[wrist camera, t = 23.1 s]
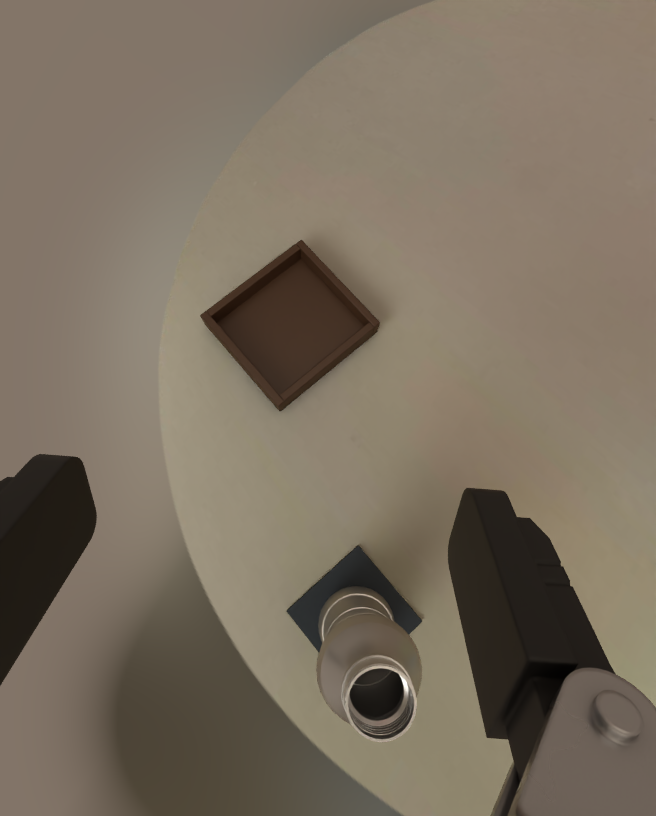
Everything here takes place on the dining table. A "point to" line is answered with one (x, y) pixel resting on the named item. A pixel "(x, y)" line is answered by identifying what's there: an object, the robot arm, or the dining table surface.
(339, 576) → the mat
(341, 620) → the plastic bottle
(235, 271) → the dining table surface
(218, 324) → the tray
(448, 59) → the dining table surface
